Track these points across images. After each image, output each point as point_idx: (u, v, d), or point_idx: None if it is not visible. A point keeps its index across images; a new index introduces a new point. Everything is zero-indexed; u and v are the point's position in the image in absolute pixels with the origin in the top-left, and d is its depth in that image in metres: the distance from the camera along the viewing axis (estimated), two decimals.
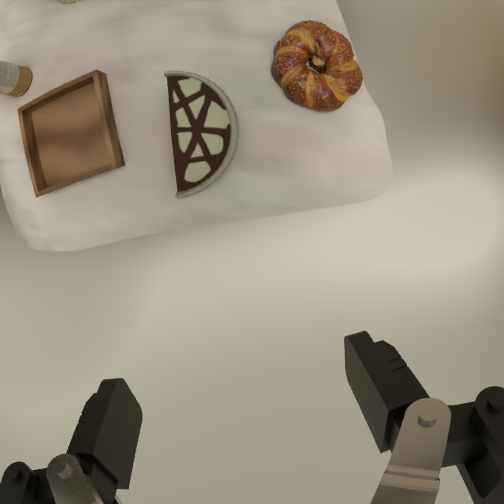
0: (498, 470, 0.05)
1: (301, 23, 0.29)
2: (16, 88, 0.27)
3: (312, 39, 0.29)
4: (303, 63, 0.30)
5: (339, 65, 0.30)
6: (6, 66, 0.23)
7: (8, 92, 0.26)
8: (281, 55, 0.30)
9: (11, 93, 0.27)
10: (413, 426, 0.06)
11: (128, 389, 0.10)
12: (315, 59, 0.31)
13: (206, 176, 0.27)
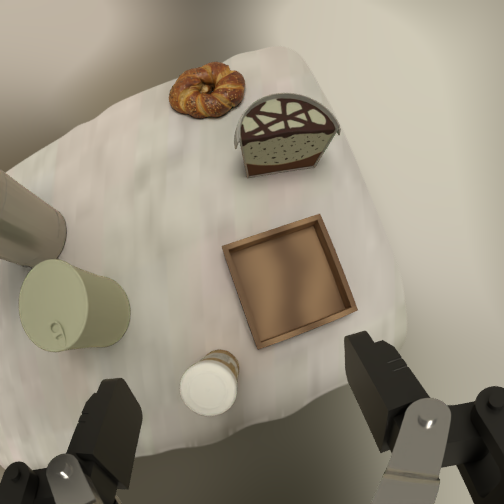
0: (498, 470, 0.05)
1: (173, 100, 0.41)
2: (231, 357, 0.33)
3: (188, 90, 0.41)
4: (209, 94, 0.42)
5: (207, 72, 0.42)
6: (204, 358, 0.30)
7: (236, 364, 0.32)
8: (205, 106, 0.41)
9: (236, 365, 0.33)
10: (413, 426, 0.06)
11: (128, 389, 0.10)
12: (203, 90, 0.43)
13: (319, 111, 0.33)
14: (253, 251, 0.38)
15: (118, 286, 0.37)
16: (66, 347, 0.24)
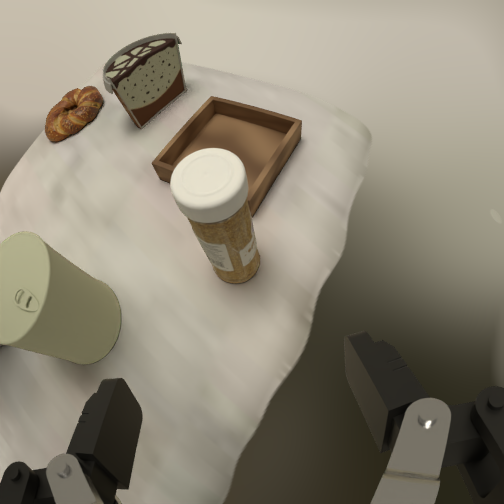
0: (498, 470, 0.05)
1: (51, 132, 0.39)
2: None
3: (58, 118, 0.39)
4: None
5: (65, 100, 0.41)
6: None
7: None
8: (77, 116, 0.39)
9: None
10: (413, 426, 0.06)
11: (128, 389, 0.10)
12: (70, 114, 0.41)
13: (156, 40, 0.34)
14: (183, 157, 0.35)
15: None
16: (40, 306, 0.17)
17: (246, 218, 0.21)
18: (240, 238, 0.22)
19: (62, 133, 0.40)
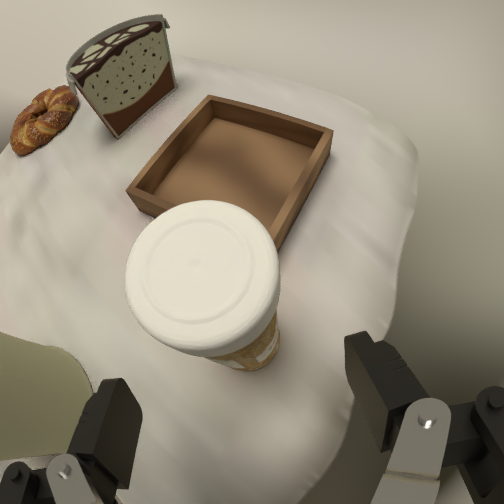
0: (498, 470, 0.05)
1: (16, 144, 0.30)
2: None
3: (24, 127, 0.30)
4: None
5: (34, 104, 0.31)
6: None
7: None
8: (45, 123, 0.30)
9: None
10: (413, 426, 0.06)
11: (128, 389, 0.10)
12: None
13: (137, 25, 0.25)
14: (170, 180, 0.26)
15: (49, 346, 0.20)
16: None
17: (271, 322, 0.12)
18: (259, 348, 0.12)
19: (28, 145, 0.30)
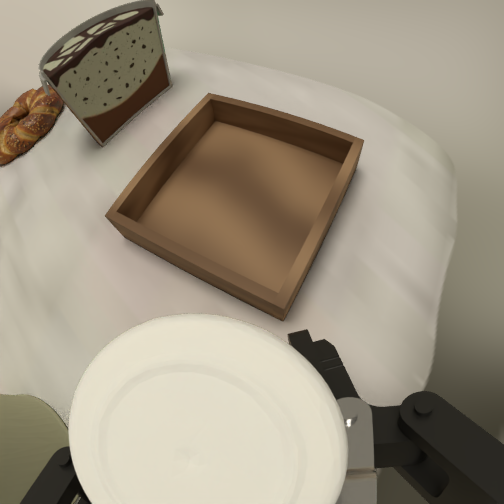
0: None
1: None
2: None
3: (3, 132, 0.25)
4: None
5: (15, 106, 0.27)
6: None
7: None
8: (25, 128, 0.25)
9: None
10: None
11: None
12: None
13: (125, 12, 0.20)
14: (161, 199, 0.21)
15: (27, 396, 0.16)
16: None
17: None
18: None
19: (7, 153, 0.25)
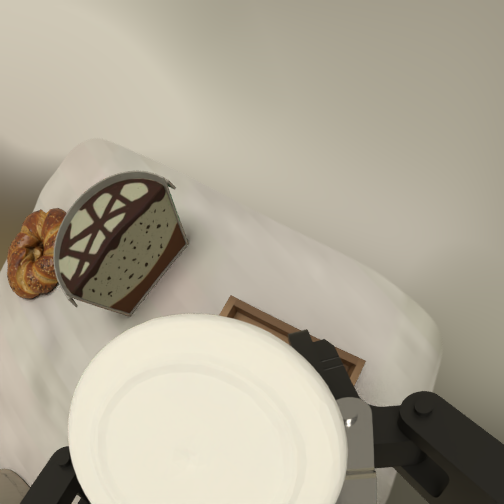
0: None
1: (16, 290, 0.28)
2: None
3: (21, 268, 0.29)
4: (42, 256, 0.30)
5: (26, 234, 0.30)
6: None
7: None
8: (45, 273, 0.29)
9: None
10: None
11: None
12: (36, 256, 0.31)
13: (132, 181, 0.24)
14: None
15: None
16: None
17: None
18: None
19: (31, 293, 0.29)
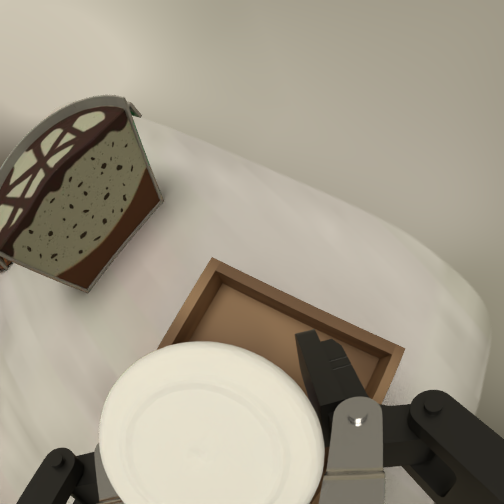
0: None
1: None
2: None
3: None
4: None
5: None
6: None
7: None
8: None
9: None
10: (344, 426, 0.06)
11: None
12: None
13: (88, 111, 0.16)
14: None
15: None
16: None
17: None
18: None
19: None
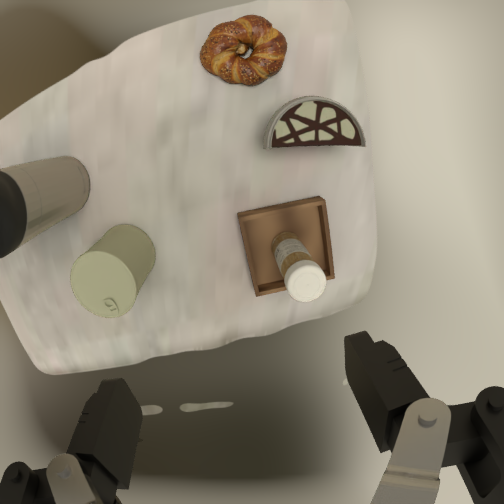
0: (498, 470, 0.05)
1: (206, 62, 0.35)
2: None
3: (223, 53, 0.35)
4: (247, 60, 0.36)
5: (247, 32, 0.33)
6: (288, 247, 0.40)
7: None
8: (241, 77, 0.36)
9: None
10: (413, 426, 0.06)
11: (128, 389, 0.10)
12: (239, 51, 0.36)
13: (351, 122, 0.33)
14: (263, 217, 0.45)
15: (145, 235, 0.44)
16: (119, 315, 0.36)
17: None
18: None
19: (215, 72, 0.37)
